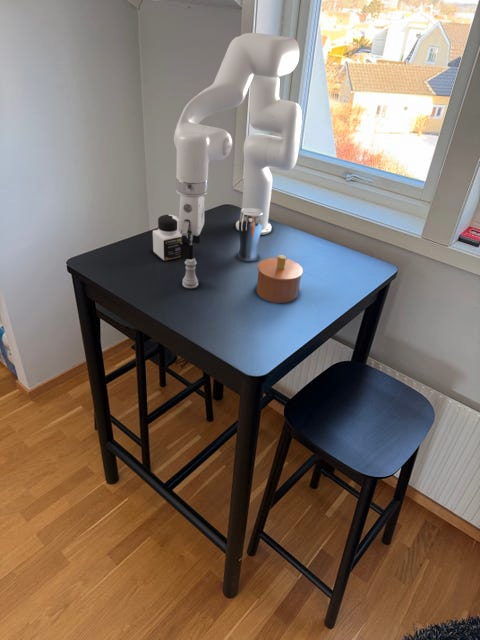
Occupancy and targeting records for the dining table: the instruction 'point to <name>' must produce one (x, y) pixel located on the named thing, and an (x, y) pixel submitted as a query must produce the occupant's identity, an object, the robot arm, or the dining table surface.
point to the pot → (277, 289)
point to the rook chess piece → (190, 275)
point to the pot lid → (280, 268)
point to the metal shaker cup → (249, 233)
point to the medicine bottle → (167, 238)
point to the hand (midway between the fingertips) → (190, 250)
